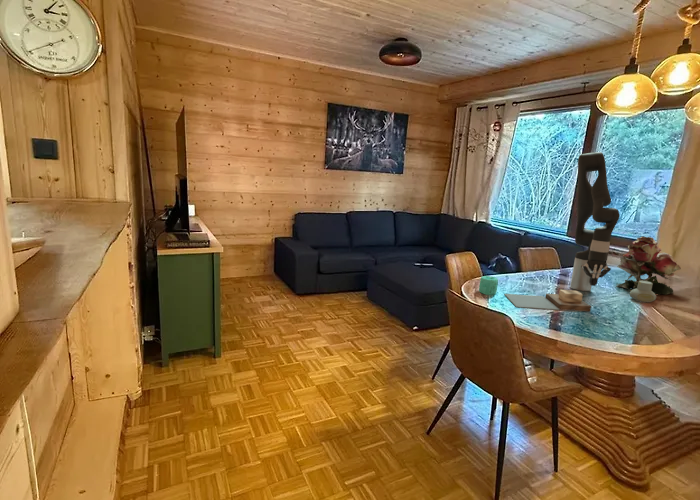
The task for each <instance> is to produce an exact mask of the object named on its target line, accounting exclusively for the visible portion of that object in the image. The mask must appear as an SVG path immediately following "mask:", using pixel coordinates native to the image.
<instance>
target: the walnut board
mask: <svg viewBox="0 0 700 500" xmlns="http://www.w3.org/2000/svg"><path fill="white" fill-rule="evenodd" d="M545 298H547V299H548V300H549V301H550V302H551V303H553V304H554V305H555V306H556V307H558V308H559V309H560V310H562V311H563V310H564V311H565V310H566V311H576V312H577V311H579V312H591V309H592V308H591V307H592V306H591V305H590V304H589V303H586V302H585V301H584V300H582V301H581V302H567V301H563V300H562V299H560V298H559V293H545Z"/></svg>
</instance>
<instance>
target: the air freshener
mask: <svg viewBox="0 0 700 500" xmlns="http://www.w3.org/2000/svg"><path fill="white" fill-rule="evenodd" d="M651 289H652V283H651V282H648V281H639V282H638V286H637V288H636V289H631V291H630V292H629V296H630V298H632V299H634V301H638V302H640V303H645V304H646V302H647V303H652V302H654V301H656V299H657V295H655V293H654V292H652V291H651Z"/></svg>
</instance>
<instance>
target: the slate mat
mask: <svg viewBox="0 0 700 500" xmlns="http://www.w3.org/2000/svg"><path fill="white" fill-rule="evenodd" d="M504 296H505V297H506V298H507V299H508V300H509V301H510V302H511V303H512V304H513V305H514V307H516V308H521V309H533V310H535V309H536V310H549V311H561V309H559V308H558V307H556V306H555V305H554V304H553V303H551V302H550V301H549V300H548V299H547V298H546V296H544V295H528V294H514V293H504Z"/></svg>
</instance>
